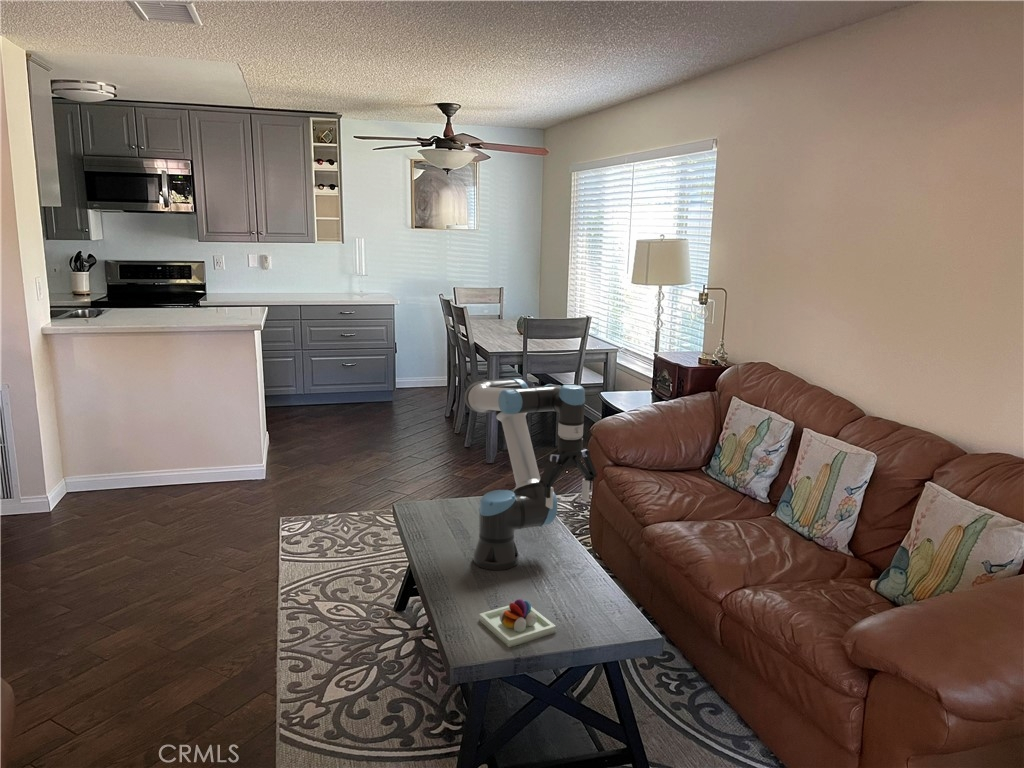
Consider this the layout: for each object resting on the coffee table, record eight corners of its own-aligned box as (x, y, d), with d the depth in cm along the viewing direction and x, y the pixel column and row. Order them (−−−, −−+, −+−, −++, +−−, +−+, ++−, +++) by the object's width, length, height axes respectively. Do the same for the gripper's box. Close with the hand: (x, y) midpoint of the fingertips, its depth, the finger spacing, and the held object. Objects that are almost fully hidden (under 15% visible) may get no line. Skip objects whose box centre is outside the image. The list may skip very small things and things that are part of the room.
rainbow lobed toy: (494, 625, 201) (495, 600, 200) (519, 613, 208) (519, 589, 206) (516, 637, 195) (517, 612, 194) (540, 624, 202) (541, 600, 201)
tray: (479, 620, 204) (479, 613, 204) (523, 607, 212) (524, 601, 212) (509, 647, 191) (509, 640, 191) (555, 632, 199) (555, 625, 199)
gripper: (543, 444, 208) (540, 514, 212) (610, 434, 221) (607, 500, 225) (528, 438, 214) (526, 506, 219) (595, 429, 227) (592, 493, 232)
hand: (567, 503), depth 222 cm, fingers open, 13 cm apart
